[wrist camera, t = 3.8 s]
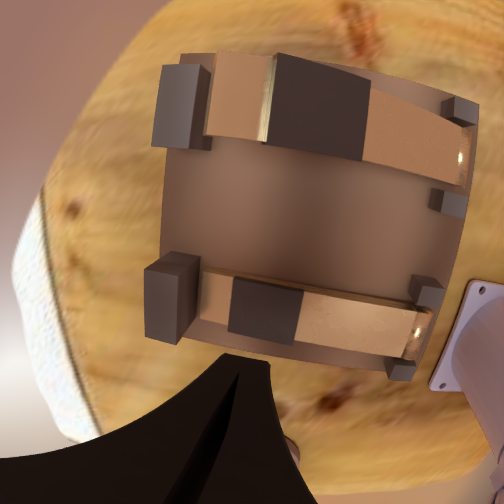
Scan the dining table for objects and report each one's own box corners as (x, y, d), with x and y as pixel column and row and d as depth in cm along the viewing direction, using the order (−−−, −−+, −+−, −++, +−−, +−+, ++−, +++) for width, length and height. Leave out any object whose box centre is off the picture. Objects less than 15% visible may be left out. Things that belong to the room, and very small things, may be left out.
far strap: (430, 304, 13) (438, 316, 12) (413, 351, 14) (419, 366, 13) (210, 262, 15) (199, 271, 14) (206, 312, 16) (196, 323, 15)
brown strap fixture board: (454, 112, 14) (510, 95, 8) (402, 345, 18) (428, 407, 12) (201, 69, 15) (154, 34, 10) (178, 307, 19) (135, 358, 14)
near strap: (458, 130, 11) (481, 132, 10) (451, 187, 12) (473, 192, 11) (213, 55, 8) (221, 41, 7) (201, 139, 9) (207, 137, 8)
